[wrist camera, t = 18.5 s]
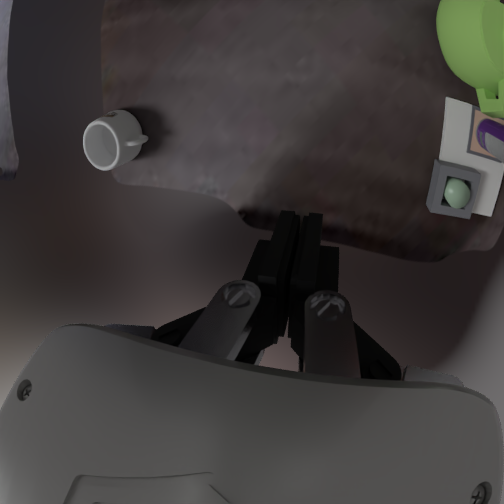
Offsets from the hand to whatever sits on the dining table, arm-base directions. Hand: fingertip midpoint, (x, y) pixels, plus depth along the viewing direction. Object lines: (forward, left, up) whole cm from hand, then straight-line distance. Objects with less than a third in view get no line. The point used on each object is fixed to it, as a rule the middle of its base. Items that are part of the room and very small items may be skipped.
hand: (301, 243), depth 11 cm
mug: (0, -31, -28) cm, 41 cm away
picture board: (+2, +23, -27) cm, 36 cm away
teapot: (-16, +21, -27) cm, 38 cm away
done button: (+6, +20, -26) cm, 33 cm away
